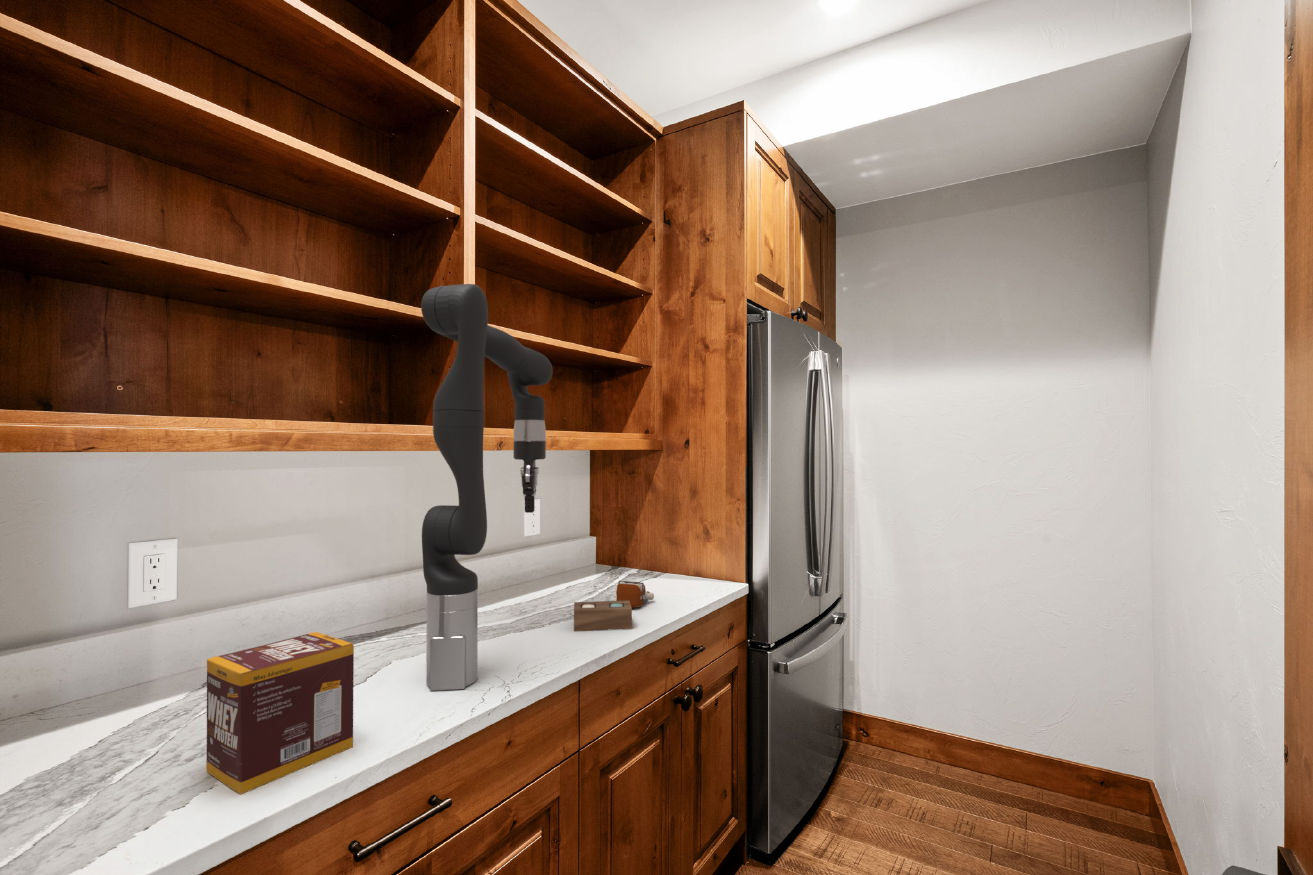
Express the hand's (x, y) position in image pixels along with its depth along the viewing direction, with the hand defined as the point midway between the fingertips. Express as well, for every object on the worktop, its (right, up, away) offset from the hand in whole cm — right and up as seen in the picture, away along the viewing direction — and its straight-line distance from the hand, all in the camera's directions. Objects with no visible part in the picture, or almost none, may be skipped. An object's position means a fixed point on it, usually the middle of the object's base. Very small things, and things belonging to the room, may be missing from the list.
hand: (529, 512), depth 146 cm
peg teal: (+20, -29, +7) cm, 36 cm away
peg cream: (+13, -29, +6) cm, 33 cm away
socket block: (+17, -29, +7) cm, 34 cm away
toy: (+24, -30, +28) cm, 48 cm away
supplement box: (-23, -28, -59) cm, 69 cm away
